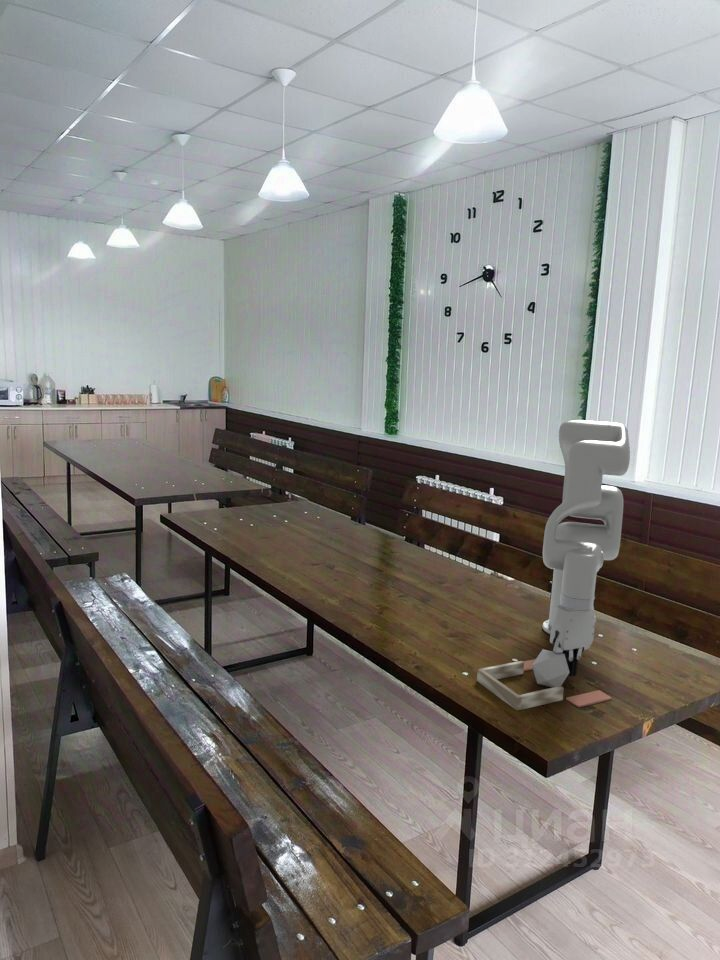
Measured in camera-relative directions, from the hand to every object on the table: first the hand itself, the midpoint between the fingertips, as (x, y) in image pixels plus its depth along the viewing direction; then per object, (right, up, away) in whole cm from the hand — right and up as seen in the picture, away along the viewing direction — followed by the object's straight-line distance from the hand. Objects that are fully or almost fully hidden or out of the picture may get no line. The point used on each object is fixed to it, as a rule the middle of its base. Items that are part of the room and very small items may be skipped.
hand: (569, 673), depth 172 cm
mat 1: (-6, 0, +8) cm, 10 cm away
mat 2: (+2, -3, -9) cm, 10 cm away
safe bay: (-13, -2, -6) cm, 15 cm away
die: (-5, -2, -2) cm, 6 cm away
